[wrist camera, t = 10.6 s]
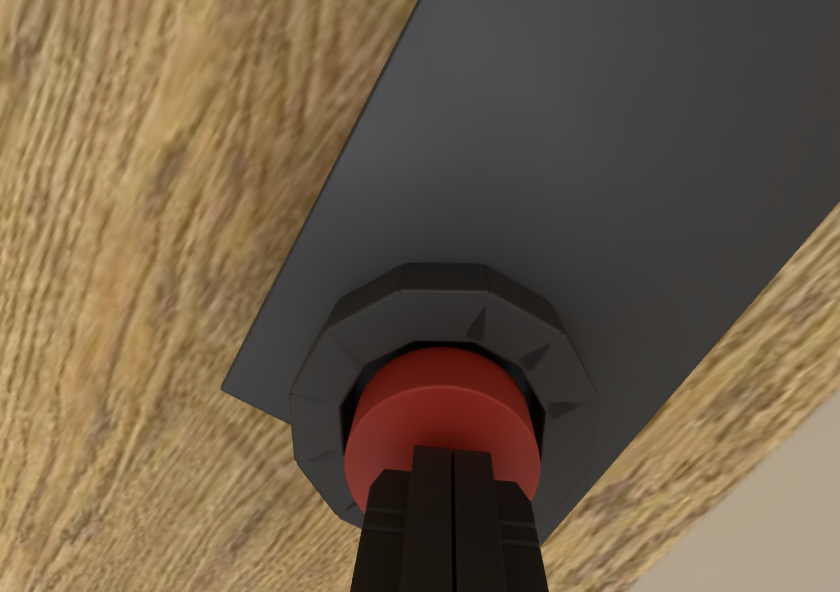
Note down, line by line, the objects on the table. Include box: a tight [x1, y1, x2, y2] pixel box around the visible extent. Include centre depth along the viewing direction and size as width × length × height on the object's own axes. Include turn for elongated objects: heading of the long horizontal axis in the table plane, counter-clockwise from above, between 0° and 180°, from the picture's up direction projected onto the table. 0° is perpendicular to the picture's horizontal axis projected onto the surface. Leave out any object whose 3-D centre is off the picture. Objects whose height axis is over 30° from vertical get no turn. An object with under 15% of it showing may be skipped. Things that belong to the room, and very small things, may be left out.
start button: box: [344, 347, 540, 514], centre depth 12 cm, size 4×4×2 cm
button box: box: [221, 0, 840, 547], centre depth 13 cm, size 16×10×4 cm, turn 150°
